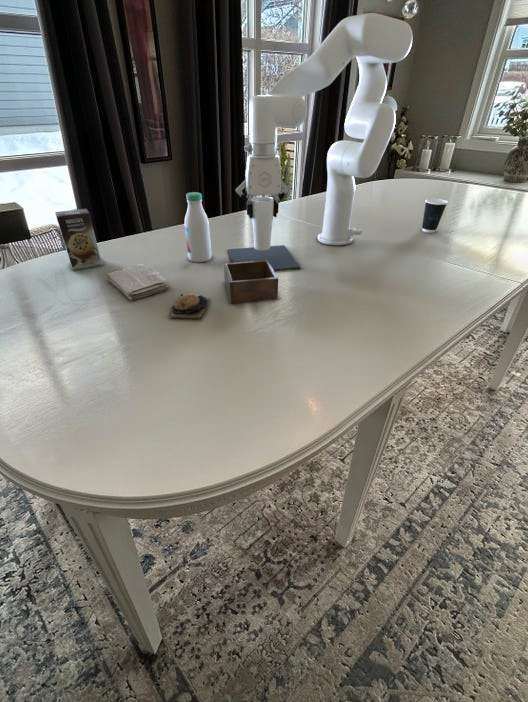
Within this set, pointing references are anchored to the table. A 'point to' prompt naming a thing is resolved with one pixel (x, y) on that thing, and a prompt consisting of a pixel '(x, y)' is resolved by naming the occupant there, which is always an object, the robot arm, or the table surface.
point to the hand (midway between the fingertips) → (262, 216)
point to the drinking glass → (262, 222)
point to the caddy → (250, 281)
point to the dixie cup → (433, 214)
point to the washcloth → (138, 281)
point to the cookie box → (79, 238)
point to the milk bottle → (197, 229)
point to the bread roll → (189, 306)
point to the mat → (266, 257)
